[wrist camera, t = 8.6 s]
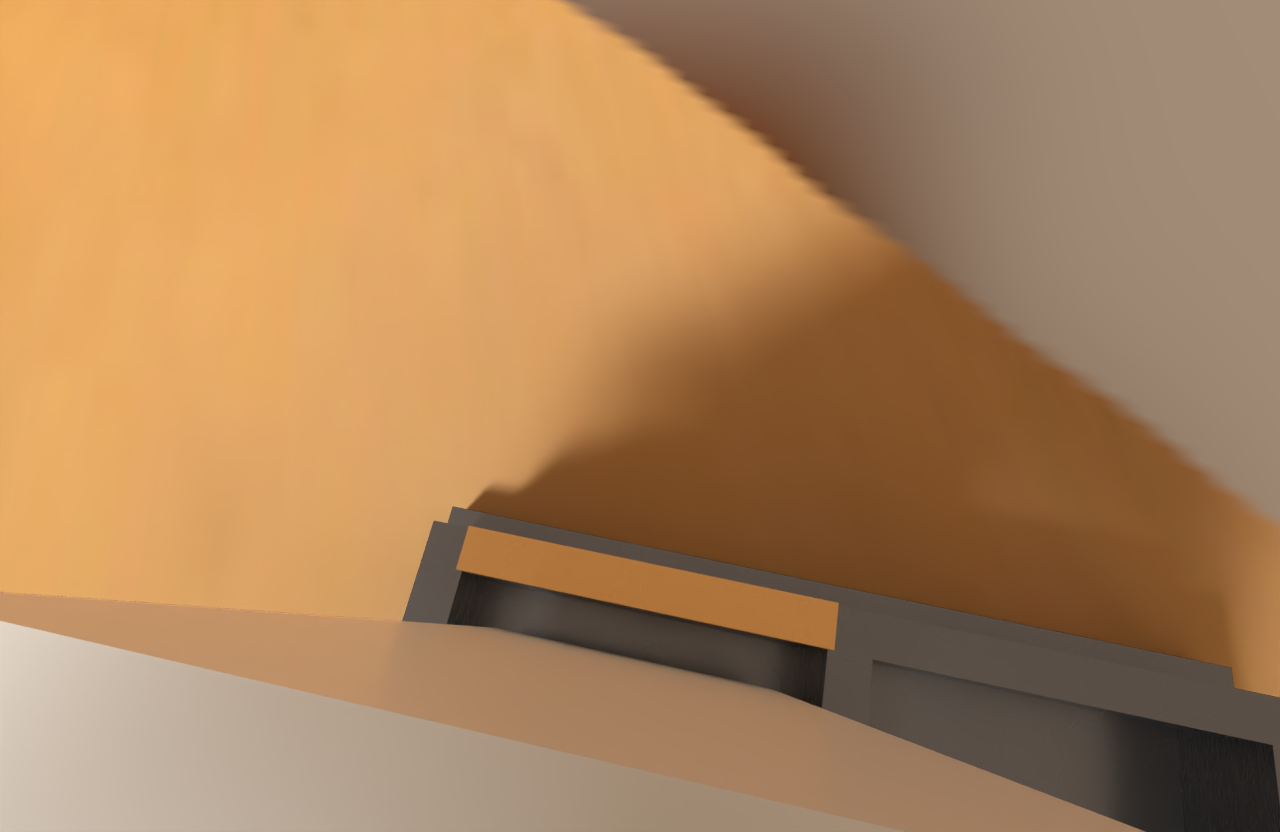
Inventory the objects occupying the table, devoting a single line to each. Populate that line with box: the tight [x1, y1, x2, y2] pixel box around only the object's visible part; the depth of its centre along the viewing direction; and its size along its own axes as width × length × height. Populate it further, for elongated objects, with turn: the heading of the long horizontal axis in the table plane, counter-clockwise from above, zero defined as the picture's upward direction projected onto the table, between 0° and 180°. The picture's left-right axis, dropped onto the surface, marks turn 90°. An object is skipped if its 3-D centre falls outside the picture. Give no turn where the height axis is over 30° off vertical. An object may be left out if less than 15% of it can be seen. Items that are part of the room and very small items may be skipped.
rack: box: [402, 507, 1280, 832], centre depth 14 cm, size 9×21×4 cm, turn 78°
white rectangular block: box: [0, 592, 1145, 832], centre depth 8 cm, size 4×6×13 cm, turn 78°
